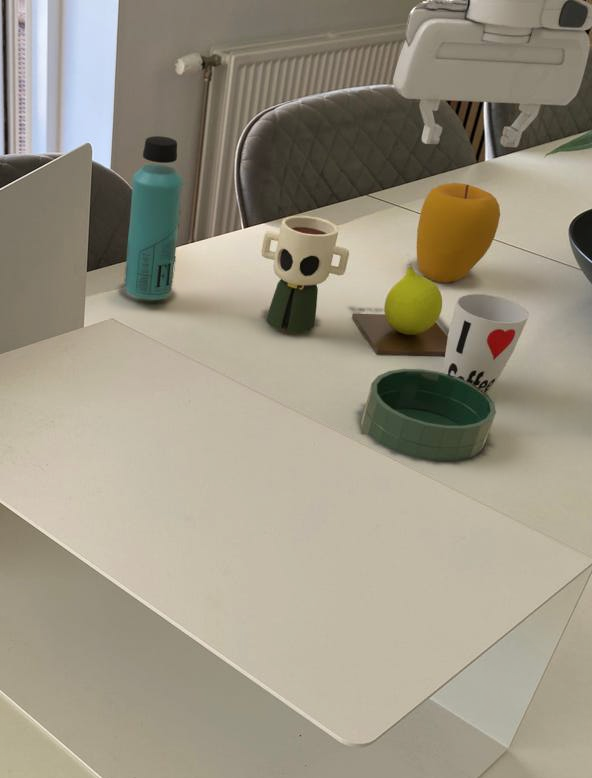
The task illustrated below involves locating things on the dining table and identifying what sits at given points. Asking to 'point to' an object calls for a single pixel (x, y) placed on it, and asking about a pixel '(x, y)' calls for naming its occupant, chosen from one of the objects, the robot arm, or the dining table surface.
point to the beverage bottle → (154, 222)
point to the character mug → (301, 269)
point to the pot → (428, 414)
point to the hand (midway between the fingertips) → (469, 144)
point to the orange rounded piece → (455, 230)
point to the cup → (482, 338)
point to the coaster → (400, 337)
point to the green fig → (413, 304)
